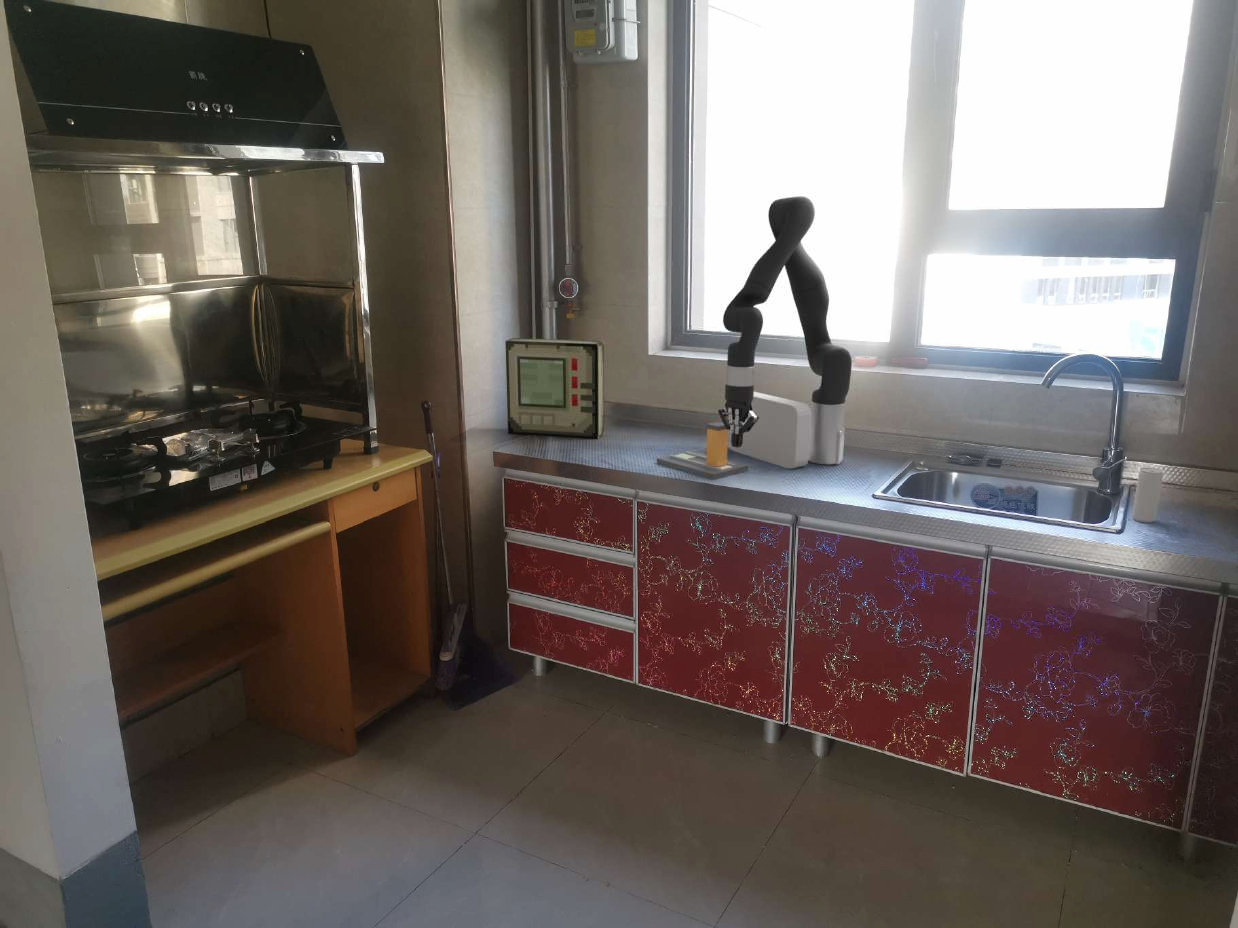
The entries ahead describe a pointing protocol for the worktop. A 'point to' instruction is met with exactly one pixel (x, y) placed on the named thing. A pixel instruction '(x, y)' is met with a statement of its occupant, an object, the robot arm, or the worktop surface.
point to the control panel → (555, 387)
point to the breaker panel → (701, 465)
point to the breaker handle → (716, 444)
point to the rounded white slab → (778, 432)
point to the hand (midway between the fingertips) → (736, 446)
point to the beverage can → (1147, 494)
